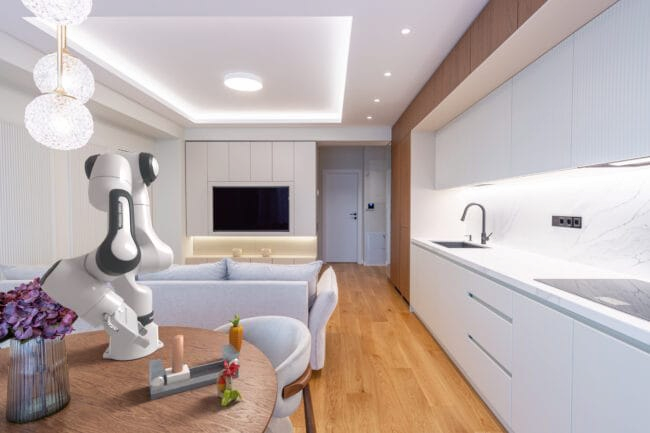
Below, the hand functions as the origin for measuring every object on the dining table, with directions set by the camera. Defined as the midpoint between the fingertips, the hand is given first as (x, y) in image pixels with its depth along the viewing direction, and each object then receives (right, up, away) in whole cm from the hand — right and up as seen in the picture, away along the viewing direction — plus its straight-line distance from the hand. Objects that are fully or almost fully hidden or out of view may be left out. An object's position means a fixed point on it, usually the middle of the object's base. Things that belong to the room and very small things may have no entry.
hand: (146, 339), depth 88 cm
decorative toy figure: (+23, -16, -2) cm, 28 cm away
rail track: (+11, -16, +7) cm, 20 cm away
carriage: (+6, -14, +5) cm, 16 cm away
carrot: (+18, -16, +23) cm, 33 cm away
